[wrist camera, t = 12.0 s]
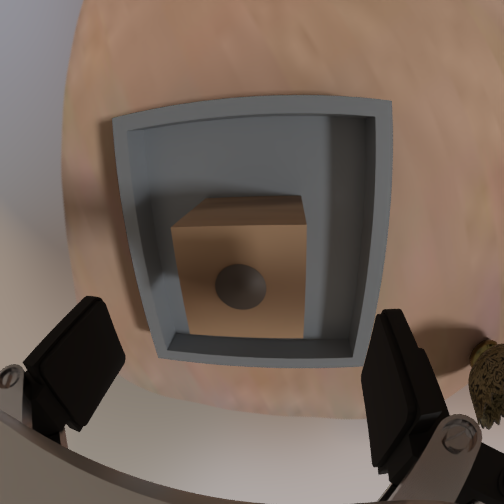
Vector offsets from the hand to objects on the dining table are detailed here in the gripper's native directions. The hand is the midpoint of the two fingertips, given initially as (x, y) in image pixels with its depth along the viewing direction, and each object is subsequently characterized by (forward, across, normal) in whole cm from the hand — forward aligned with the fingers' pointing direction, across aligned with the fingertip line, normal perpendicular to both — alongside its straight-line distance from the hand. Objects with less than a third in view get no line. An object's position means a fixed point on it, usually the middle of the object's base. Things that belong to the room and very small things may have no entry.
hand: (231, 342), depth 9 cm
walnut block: (+10, +1, +1) cm, 11 cm away
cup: (+12, -22, +13) cm, 28 cm away
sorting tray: (+11, +1, +1) cm, 11 cm away
